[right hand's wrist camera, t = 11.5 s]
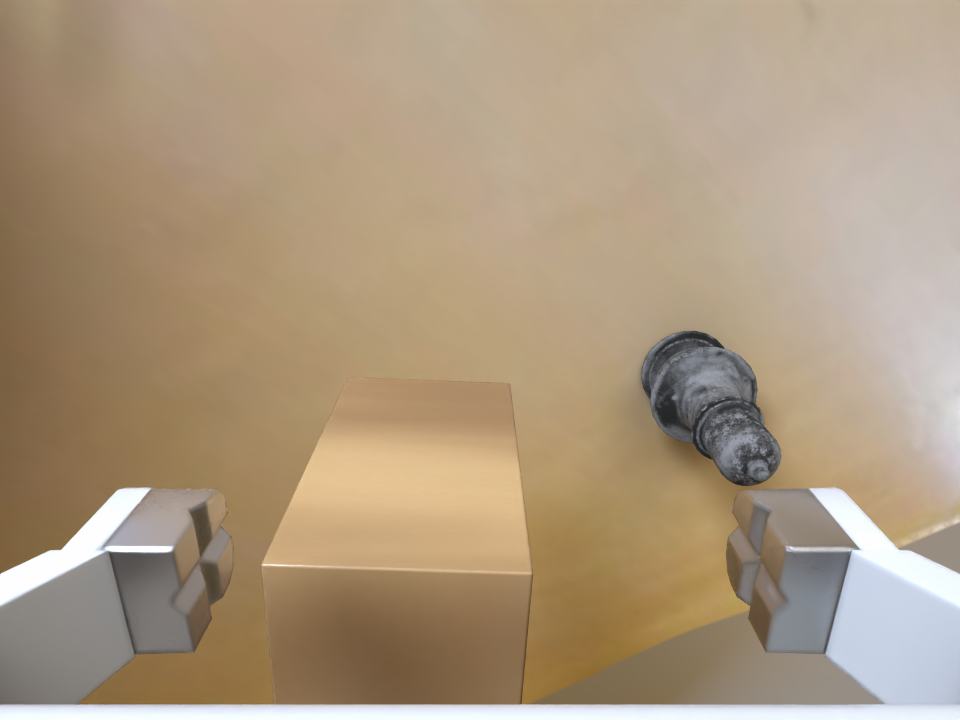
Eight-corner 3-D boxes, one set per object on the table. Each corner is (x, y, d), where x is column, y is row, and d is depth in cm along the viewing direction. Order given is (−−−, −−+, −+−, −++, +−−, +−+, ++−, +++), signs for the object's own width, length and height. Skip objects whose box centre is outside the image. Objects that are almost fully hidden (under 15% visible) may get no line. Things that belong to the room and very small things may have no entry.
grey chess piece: (754, 362, 40) (862, 466, 28) (687, 432, 41) (764, 556, 30) (682, 306, 38) (766, 393, 27) (616, 381, 40) (668, 491, 29)
